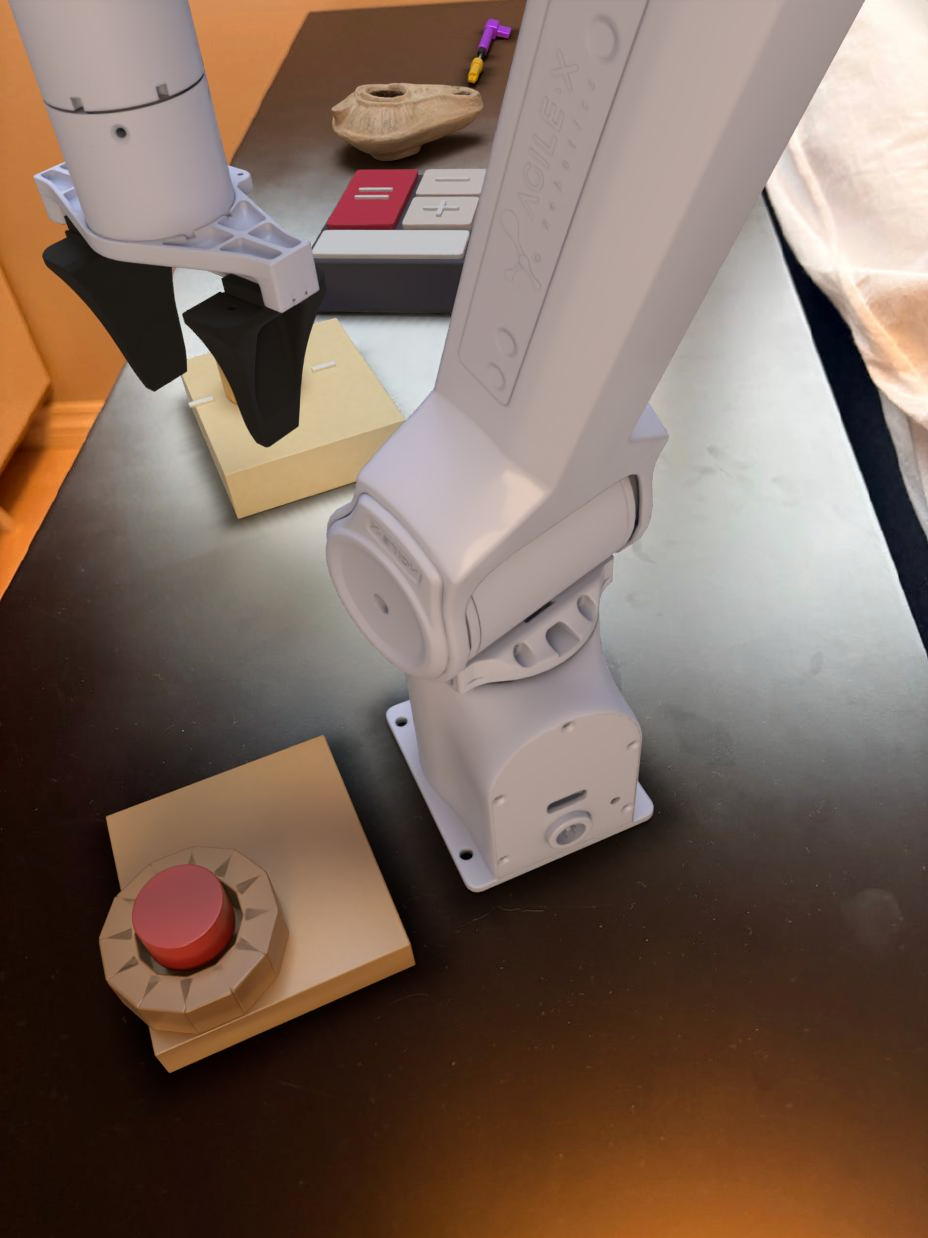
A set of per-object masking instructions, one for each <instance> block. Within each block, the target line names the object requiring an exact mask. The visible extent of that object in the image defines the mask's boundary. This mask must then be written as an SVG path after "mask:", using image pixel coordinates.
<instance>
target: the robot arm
mask: <svg viewBox="0 0 928 1238" xmlns="http://www.w3.org/2000/svg"><path fill="white" fill-rule="evenodd" d="M7 2H8V5H9V8H10V11H11V13H12V16H13V19H14V21H15V25H16V29H17V31H18V33H19V36H20V39H21V41H22V45H23V48H24V50H25V53H26V55H27V59H28V61H29V64H30V67H31V69H32V72H33V76H34V78H35V81H36V84H37V86H38V90H39V93H40V95H41V99H42V101H43V104H44V107H45V109H46V113H47V116H48V119H49V121H50V124H51V126H52V129H53V132H54V135H55V138H56V140H57V143H58V147H59V149H60V151H61V154H62V157H63V160H64V162H61V163H59V164H57V165H54V166H52V167H50V168H47V169H45V170H43V171H40V172H38V173H36V174H34V175H33V180H34V183H35V186H36V188H37V190H38V193H39V196H40V199H41V202H42V204H43V206H44V209H45V211H46V215H47V216H48V219H49V221H52V222H54V223H56V224H59V225H62V226H63V225H64V226H65V225H66V226H67V227H66V228H67V229H66V230H64V235H65V237H64V238H62V239H60V240H58V241H56V242H54V243H52V244H51V245H49V246H47V247H46V248H45V249H44V250H43V252H42V254H41V258H42V260H43V263H44V265H45V266H46V267H47V268H48V269H49V270H50V271H51V272H52V273H53V274H55V276H57V277H58V278H59V279H60V280H61V281H63V282H64V284H66V285H67V286H68V287H69V288H70V289H71V290H72V291H73V292H74V293H75V294H76V295H77V296H78V297H79V299H80V300H82V302H83V303H84V304H85V305H86V306H87V307H88V309H89V310H90V311H91V313H92V314H93V315H94V316H95V317H96V318H97V320H98V321H99V322H100V323H101V325H102V327H103V328H104V329H105V331H106V332H107V334H108V335H109V336H110V338H111V339H112V341H113V342H114V344H115V345H116V347H117V348H118V350H119V351H120V353H121V354H122V357H124V359H125V361H126V362H127V363H128V365H129V366H130V368H131V370H132V371H133V373H134V374H135V376H136V377H137V378H138V379H139V381H140V382H141V383H142V385H143V386H144V387H145V388H146V389H148V390H150V391H152V392H154V393H155V392H157V391H158V390H160V389H161V388H163V387H165V386H166V385H168V384H170V383H172V382H173V381H175V380H177V379H178V378H179V377H181V375H183V374H184V373H186V372H187V359H188V356H187V348H186V343H185V339H184V335H183V334H184V333H183V329H182V325H181V321H180V316H179V312H178V308H177V302H176V297H175V290H174V289H175V288H174V277H173V268H179V269H186V270H194V271H195V270H197V271H204V272H209V273H211V274H214V275H216V276H218V277H221V278H220V279H221V283H222V288H223V292H222V291H218V292H216V293H214V294H213V295H211V296H209V297H208V298H206V299H204V300H203V301H201V302H199V303H197V304H195V305H194V306H192V307H190V308H189V309H186V310H185V311H183V312H182V313H181V316H182V319H183V323H184V324H185V326H187V328H189V329H190V330H191V331H192V332H193V334H195V335H196V337H197V338H198V339H199V340H200V341H201V342H202V343H203V344H204V346H205V347H206V349H207V350H208V351H209V353H211V354H212V355H213V357H214V358H215V360H216V361H217V363H218V365H219V366H220V368H221V369H222V371H223V373H224V375H225V377H226V379H227V381H228V383H229V385H230V387H231V389H232V392H233V394H234V397H235V400H236V402H237V405H238V408H239V410H240V413H241V415H242V418H243V420H244V423H245V425H246V427H247V429H248V431H249V433H250V434H251V436H252V437H253V439H254V440H255V442H256V443H257V444H259V445H261V446H263V447H265V448H266V447H270V446H272V445H273V444H275V443H276V442H277V441H279V440H280V439H282V438H283V437H284V436H286V435H287V434H289V433H290V432H292V431H293V430H294V429H296V428H297V427H299V415H300V397H301V383H302V373H303V365H304V358H305V353H306V348H307V344H308V340H309V336H310V333H311V330H312V327H313V324H315V320H316V318H317V315H318V312H319V311H318V310H319V308H320V305H321V303H322V301H323V298H324V296H325V294H326V292H327V284H326V279H325V274H324V272H323V271H322V270H321V269H319V268H317V267H315V263H314V258H313V253H312V243H311V241H310V240H308V239H305V238H302V237H300V236H297V235H296V234H293V233H291V232H290V231H288V230H287V229H285V227H283V226H281V225H280V224H279V223H278V222H277V221H275V219H273V218H272V217H271V216H270V215H269V214H268V213H267V212H266V211H265V210H263V209H262V208H261V206H259V205H258V204H256V202H254V201H253V200H252V199H251V198H250V197H249V196H248V195H249V194H251V193H252V192H253V191H254V182H253V180H252V176H251V173H250V172H248V170H245V169H242V168H239V167H235V166H232V165H229V164H228V161H227V156H226V153H225V148H224V143H223V139H222V136H221V132H220V128H219V127H220V126H219V123H218V120H217V115H216V110H215V106H214V102H213V98H212V93H211V89H210V86H209V81H208V77H207V72H206V68H205V65H204V60H203V56H202V52H201V47H200V44H199V38H198V35H197V31H196V27H195V22H194V18H193V14H192V9H191V5H190V1H189V0H7ZM865 2H866V0H526V2H525V6H524V10H523V14H522V19H521V23H520V27H519V32H518V34H517V35H518V36H517V40H516V44H515V49H514V52H513V56H512V60H511V65H510V69H509V73H508V77H507V82H506V86H505V90H504V94H503V98H502V103H501V107H500V111H499V115H498V118H497V119H498V120H497V123H496V128H495V132H494V136H493V140H492V145H491V148H490V149H491V150H490V153H489V156H488V161H487V165H486V168H485V169H486V173H485V177H484V182H483V186H482V190H481V194H480V198H479V202H478V207H477V211H476V215H475V219H474V223H473V228H472V232H471V236H470V240H469V244H468V248H467V253H466V257H465V261H464V265H463V269H462V273H461V278H460V282H459V286H458V290H457V294H456V299H455V303H454V307H453V311H452V313H451V315H450V320H449V323H448V327H447V331H446V336H445V341H444V345H443V349H442V352H441V357H440V360H439V366H438V370H437V374H436V378H435V383H434V386H433V389H432V390H431V391H430V392H429V394H428V395H427V396H426V397H425V398H424V400H423V401H422V402H421V403H420V404H419V406H417V408H416V409H415V410H413V412H412V413H411V414H410V415H409V416H408V417H407V418H406V419H405V420H406V421H405V422H404V423H403V424H402V425H401V426H400V427H399V428H398V429H397V430H396V431H395V432H394V433H393V435H392V436H391V437H390V438H389V439H388V440H387V441H386V442H385V443H384V444H383V445H382V447H381V448H380V449H379V450H378V451H377V452H376V453H375V454H374V455H373V457H372V458H371V459H370V460H369V461H368V462H367V463H366V464H365V466H364V467H363V468H362V469H361V471H360V472H359V474H358V476H357V480H356V482H355V487H354V493H353V497H352V498H351V500H350V502H347V503H346V504H344V505H342V506H340V507H338V508H336V510H334V512H333V513H332V514H331V515H330V517H329V519H328V522H327V525H326V537H325V538H326V543H325V560H326V567H327V570H328V573H329V577H330V580H331V582H332V586H333V588H334V590H335V592H336V594H337V596H338V598H339V600H340V602H341V604H342V605H343V607H344V609H345V611H346V612H347V614H348V616H349V617H350V619H351V620H352V622H353V623H354V625H355V626H356V627H357V629H358V630H359V632H360V633H361V634H362V635H363V637H364V638H365V639H366V640H367V641H368V643H369V644H370V645H371V646H372V647H373V649H375V650H376V651H377V653H379V654H380V655H381V657H383V659H385V660H386V661H387V662H389V663H390V664H391V665H393V666H394V667H395V668H397V669H398V670H400V671H401V672H403V673H404V676H405V682H406V687H407V692H408V699H407V700H405V701H403V702H400V703H397V704H394V705H391V706H390V707H388V709H387V710H386V713H385V718H386V722H387V725H388V726H389V729H390V730H391V731H390V732H391V733H392V735H393V737H394V739H395V741H396V743H397V745H398V747H399V750H400V752H401V754H402V756H403V759H404V761H405V762H406V764H407V766H408V769H409V771H410V773H411V775H412V777H413V779H414V781H415V783H416V785H417V788H418V789H419V791H420V793H421V796H422V798H423V800H424V802H425V804H426V806H427V808H428V810H429V813H430V814H431V817H432V819H433V821H434V823H435V826H436V827H437V829H438V831H439V833H440V835H441V837H442V840H443V842H444V844H445V846H446V848H447V851H448V852H449V854H450V857H451V859H452V861H453V863H454V865H455V867H456V869H457V871H458V873H459V875H460V877H461V879H462V883H464V885H465V887H466V888H467V890H470V892H473V893H480V892H481V893H482V892H484V891H486V890H489V889H491V888H493V887H495V886H498V885H500V884H503V883H505V882H507V881H510V880H512V879H514V878H516V877H519V876H521V875H524V874H525V873H529V872H530V871H533V870H535V869H538V868H540V867H542V866H544V865H547V864H549V863H551V862H553V861H556V860H559V859H561V858H563V857H565V856H568V855H570V854H572V853H575V852H578V851H580V850H582V849H584V848H587V847H589V846H592V845H594V844H596V843H598V842H601V841H602V840H605V839H608V838H609V837H612V836H614V835H617V834H619V833H621V832H624V831H626V830H628V829H630V828H633V827H635V826H637V825H640V824H642V823H645V822H648V820H650V819H651V818H652V817H653V815H654V808H655V807H654V803H653V801H652V799H651V797H650V796H649V795H648V793H647V792H646V791H645V789H644V788H643V786H642V784H641V783H640V781H639V773H640V766H641V765H640V763H641V755H642V754H641V753H642V745H643V731H642V727H641V724H640V722H639V719H638V718H637V716H636V715H635V713H634V712H633V710H632V708H631V707H630V705H629V704H628V703H627V701H626V699H625V697H624V696H623V694H622V692H621V690H620V689H619V687H618V686H617V684H616V682H615V681H614V679H613V676H612V673H611V671H610V668H609V666H608V662H607V660H606V657H605V653H604V652H605V651H604V647H603V642H602V638H601V626H600V625H601V624H600V604H601V603H600V602H601V597H602V595H603V592H604V591H605V590H606V588H607V587H608V586H609V585H611V583H613V579H614V577H613V576H614V562H615V561H614V560H615V556H614V554H617V553H618V554H619V553H620V552H622V551H623V550H625V549H626V548H628V547H630V546H632V545H634V544H635V543H636V542H638V541H639V540H640V539H641V538H642V537H643V535H644V534H645V532H646V531H647V529H648V527H649V525H650V522H651V520H652V516H653V508H654V497H653V481H654V479H653V478H654V471H655V467H656V463H657V462H658V459H659V457H660V455H661V453H662V452H663V450H664V448H665V446H666V444H667V443H668V441H669V438H670V435H669V432H668V430H667V429H666V427H665V425H664V424H663V422H662V421H661V419H660V417H659V416H658V415H657V413H656V411H655V410H654V408H653V407H652V405H651V403H650V400H651V398H652V397H653V394H655V391H656V389H657V387H658V385H659V383H660V382H661V380H662V378H663V376H664V374H665V372H666V370H667V369H668V367H669V365H670V363H671V361H672V359H673V357H674V355H675V354H676V352H677V350H678V349H679V347H680V344H681V343H682V341H683V338H684V337H685V335H686V333H687V332H688V329H689V328H690V326H691V324H692V322H693V320H694V318H695V317H696V315H697V313H698V311H699V309H700V307H701V305H702V304H703V302H704V301H705V298H706V296H707V294H708V293H709V290H710V289H711V287H712V285H713V283H714V282H715V279H716V278H717V277H718V274H719V272H720V271H721V268H722V267H723V264H724V263H725V261H726V259H727V258H728V256H729V253H730V252H731V250H732V248H733V246H734V244H735V242H736V240H737V239H738V238H739V235H740V233H741V231H742V229H743V227H744V226H745V224H746V222H747V220H748V219H749V216H750V215H751V212H753V209H754V207H755V205H756V203H757V201H758V200H759V198H760V196H761V194H762V192H763V190H764V188H765V186H766V185H767V183H768V181H769V179H770V178H771V176H772V174H773V172H774V170H775V168H776V166H777V165H778V163H779V161H780V159H781V157H782V156H783V153H784V152H785V150H786V148H787V146H788V145H789V142H790V140H791V139H792V137H793V135H794V133H795V131H796V129H797V127H798V126H799V124H800V122H801V120H802V119H803V116H804V114H805V113H806V111H807V109H808V107H809V106H810V103H811V102H812V100H813V98H814V96H815V95H816V92H817V90H819V87H820V85H821V83H822V81H823V79H824V77H825V75H826V73H827V72H828V70H829V68H830V66H831V65H832V62H833V61H834V59H835V57H836V55H837V53H838V51H839V50H840V48H841V46H842V45H843V43H844V40H845V39H846V36H847V35H848V33H849V32H850V29H851V28H852V26H853V23H854V22H855V20H856V18H857V16H858V14H859V13H860V11H861V9H862V7H863V5H864V4H865ZM402 723H404V725H403V726H399V724H402ZM465 854H469V855H472V857H471V858H468V859H463V858H462V856H463V855H465Z"/></svg>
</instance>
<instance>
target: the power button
mask: <svg viewBox="0 0 928 1238" xmlns="http://www.w3.org/2000/svg"><path fill="white" fill-rule="evenodd" d="M235 922H236V920H235V912H234V909H233V906H232V904H231V902H230V900H229V898H228V896H227V894H226V892H225V890H224V889H223V887H222V885H221V883H220V881H219V879H218V878H217V877H216V875H215V874H214V873H212V872H211V871H210V870H208V869H206V868H204V867H202V866H198V865H192V864H184V865H177V866H173V867H170V868H168V869H165V870H163V871H161V872H160V873H158V874H157V875H155V876H154V877H152V878H151V879H150V880H149V881H148V882H147V883H146V884H145V885H144V886H143V888H142V889H141V890H140V892H139V894H138V895H137V897H136V900H135V902H134V905H133V910H132V924H133V927H134V930H135V932H136V934H137V935H138V937H139V938H140V940H141V941H142V943H143V944H144V946H145V947H146V949H147V950H148V951H149V953H150V954H151V956H152V957H153V959H154V960H155V961H156V962H157V963H158V964H159V965H161V966H162V967H164V968H166V969H169V970H173V971H191V970H196V969H198V968H201V967H203V966H205V965H207V964H209V963H211V962H212V961H213V960H215V959H216V958H217V957H218V956H219V955H220V954H221V953H222V952H223V951H224V950H225V949H226V947H227V946H228V944H229V942H230V940H231V938H232V936H233V933H234V929H235Z"/></svg>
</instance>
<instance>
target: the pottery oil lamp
mask: <svg viewBox="0 0 928 1238" xmlns="http://www.w3.org/2000/svg"><path fill="white" fill-rule="evenodd" d="M483 109H484V102H483V99H482V95H481V93H480V92H479V91H478V90H476V89H474V88H472V87H467V86H458V85H446V84H434V83H433V84H429V83H427V84H425V83H423V84H419V83H406V82H400V83H398V82H392V83H372V84H368V83H367V84H362V85H358V86H357V87H356V88H355V90H354V91H352V92H351V93H350V94H349V95H347V97H345V99H343V100H341V101H340V102H338V103H337V104H335V105H334V106H333V107H331V112H332V119H331V127H332V131H333V134H334V135H335V136H336V137H338V138H339V139H340V140H342V141H343V142H346V143H347V144H349V145H351V146H352V147H354V148H355V149H356V150H359V151H360V152H363V153H365V154H367V155H370V156H371V157H372V158H373V159H375V160H378V161H380V162H392V161H397V160H401V159H405V158H409V157H412V156H413V155H416V154H418V153H419V152H420V151H421V148H422V146H423V145H425V144H429V143H431V142H435V141H437V140H440V139H442V138H443V137H445V136H448V135H450V134H453V133H457V132H458V131H460V130H463V129H464V128H467V127H468V126H470V125H471V124H473V122H474V121H476V119H477V118H478V117H479V115H480V114H481V113H482V111H483Z"/></svg>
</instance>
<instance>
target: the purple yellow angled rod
mask: <svg viewBox="0 0 928 1238" xmlns="http://www.w3.org/2000/svg"><path fill="white" fill-rule="evenodd" d="M511 33H512V27H510V26H505V25H501V24H500V20H498V19H494V18H489V19H488V20H487V21H486V23H485V25H484V28H483V33H482V35H481V39H480V41H479V43H478V47H477V51H476V55H477V57H474V58H473V59H472V61H471V63H470V66H469V71H468V74H467V82H468V83H471V84H475V83H476V82H477V81H478V79H479V76H480V74H481V73H482V71H483V68H484V61H483V59H484V58H485V57H486V56H487V55H488V51H489V49H490V45H491V43H492V40H494V41H495V40H496V38H497V37H499V38H504V39H507V40H508V39H510V36H511Z"/></svg>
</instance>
